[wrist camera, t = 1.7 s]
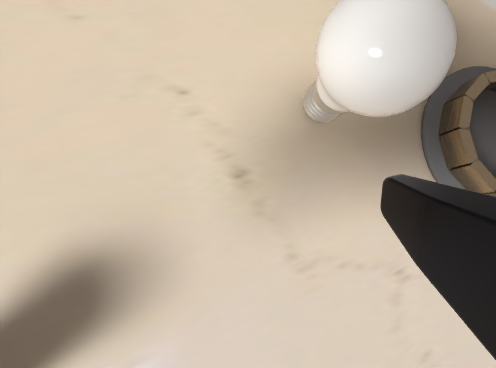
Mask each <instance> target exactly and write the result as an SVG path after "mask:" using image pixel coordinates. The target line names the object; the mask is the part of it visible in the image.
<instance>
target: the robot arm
mask: <svg viewBox="0 0 496 368" xmlns="http://www.w3.org/2000/svg"><path fill="white" fill-rule="evenodd" d="M381 212H382V214H383V216H384V218H385V219H386V221H387V222H388V224H389V225H390V227H391V228H392V230H393V231H394V233H395V234H396V236H397V237H398V239H399V240H400V242H401V243H402V245H403V246H404V248H405V249H406V251H407V252H408V253H409V255H410V256H411V258H412V259H413V261H414V262H415V263H416V265H417V266H418V267H419V268H420V270H421V271H422V272H423V273H424V275H425V276H426V277H427V278H428V279H429V281H430V282H431V283H432V284H433V285H434V287H435V288H436V289H437V290H438V291H439V293H440V294H441V295H442V296H443V297H444V299H445V300H446V301H447V302H448V303H449V305H450V306H451V307H452V308H453V309H454V311H455V312H456V313H457V314H458V315H459V317H460V318H461V319H462V320H463V321H464V323H465V324H466V325H467V326H468V328H469V329H470V330H471V331H472V332H473V334H474V335H475V336H476V337H477V338H478V340H479V341H480V342H481V343H482V344H483V346H484V347H485V348H486V349H487V350H488V352H489V353H490V354H491V355H492V356H493V358H494V359H495V360H496V197H494V196H490V195H486V194H482V193H478V192H473V191H469V190H465V189H461V188H457V187H453V186H449V185H444V184H440V183H436V182H432V181H428V180H424V179H419V178H415V177H411V176H407V175H403V174H399V175H395V176H391V177H387V178H386V179H385V180H384V181H383V186H382V196H381Z"/></svg>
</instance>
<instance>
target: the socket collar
mask: <svg viewBox="0 0 496 368" xmlns="http://www.w3.org/2000/svg"><path fill="white" fill-rule="evenodd" d="M484 90H492V91H494V92H496V71H490V72H485V73H483V74H481V75H479V76H477V77H475V78H473V79H471V80H470V81H468V82H466V83H464V84H462V85H461V86H460V87H459V88H458V89H457V90H456V91H455V92H454V93H453V95H452V96H451V97H450V98H449V99H448V100H447V101H446V102H445V103H444V104H445V105H443V109H442V114H441V120H440V125H439V131H438V135H439V136H440V137H438V139H439V142H440V146H441V149H442V152H443V156H444V159H445V162H446V166H447V169H449V168H451V169H450V170H449V172H450V173H451V174H452V175H453V176H454V178H455V179H456V180H457V181H458V182H459V183H460V184H461V185H462V187H463V188H464V189H465V190H469V191H473V192H478V193H482V194H486V195H490V196H494V197H496V178H495V177H494V176H493V175H492V174H491V173H490V172H489V171H488V169H487V168H486V167H485V166H484V165H483V164H482V163H481V161H480V160H479V159H478V156H477V153H476V150H475V146H474V143H473V140H472V137H471V133H470V130H469V126H470V120H471V114H472V108H473V101H474V100H475V99H476V98H477V96H478V95H479V94H480V93H481V92H482V91H484Z"/></svg>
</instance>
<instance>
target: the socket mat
mask: <svg viewBox="0 0 496 368" xmlns="http://www.w3.org/2000/svg"><path fill="white" fill-rule="evenodd" d="M490 71H496V69H494V68H489V67H470V68H466V69H462V70H460V71H457V72H455V73H453V74H452V75H450V76H449V77H447V78H445V79H444V80H443V82H442V83H441V84H440V86H439V87H438V88H437V89H436V90H435V92H434V93H433V94H432V95H431V96H430V97H429V99H428V101H427V104H426V106H425V110H424V114H423V119H422V145H423V150H424V154H425V158H426V161H427V164H428V167H429V169H430V171H431V173H432V175H433V177H434V179H435V180H436V182H437V183H440V184H444V185H449V186H453V187H457V188H461V189H464V188H463V187H462V185H461V184H460V183H459V182H458V181H457V180H456V179H455V178H454V176H453V175H452V174H451V173H450V172H449V170H450V169H451V168H449V169H447V166H446V162H445V159H444V156H443V152H442V149H441V146H440V142H439V139H438V137H440V136H439V135H438V131H439V125H440V120H441V114H442V109H443V105H445V104H444V103H445V102H446V101H447V100H448V99H449V98H450V97H451V96H452V95H453V93H454V92H455V91H456V90H457V89H458V88H459V87H460V86H461V85H462V84H464V83H466V82H468V81H470V80H471V79H473V78H475V77H477V76H479V75H481V74H483V73H485V72H490ZM469 130H470V133H471V137H472V140H473V143H474V146H475V150H476V153H477V156H478V159H479V160H480V161H481V163H482V164H483V165H484V166H485V167H486V168H487V169H488V171H489V172H490V173H491V174H492V175H493V176H494V177H495V178H496V92H494V91H492V90H484V91H482V92H481V93H480V94H479V95H478V96H477V98H476V99H475V100H474V101H473V108H472V114H471V120H470V126H469Z"/></svg>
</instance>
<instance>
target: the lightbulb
mask: <svg viewBox="0 0 496 368" xmlns="http://www.w3.org/2000/svg"><path fill="white" fill-rule="evenodd" d="M456 43H457V33H456V26H455V21H454V18H453V15H452V12H451V10H450V8H449V6H448V5H447V3H446V2H445V0H339V1H338V2H337V3H336V4H335V5H334V6H333V8H332V9H331V10H330V12H329V13H328V15H327V16H326V18H325V20H324V22H323V24H322V26H321V29H320V32H319V35H318V39H317V44H316V66H317V71H318V76H317V80H316V81H315V82H314V83H313V84H312V85H311V86H310V87H309V89H308V90H307V91H306V92H305V94H304V97H303V107H304V110H305V112H306V113H307V115H308V116H309V117H310V118H311V119H313V120H314V121H317V122H320V123H326V122H330V121H332V120H334V119H335V118H336V117H338V116H339V115H340V114H342V113H343V112H349V111H351V112H353V113H356V114H359V115H363V116H369V117H386V116H392V115H396V114H400V113H403V112H405V111H408V110H410V109H412V108H414V107H416V106H417V105H419V104H420V103H422V102H423V101H425V100H426V99H427V98H428V97H429V96H431V95H432V94H433V93H434V92H435V90H436V89H437V88H438V87H439V86H440V84H441V83H442V82H443V80H444V79H445V77H446V75H447V74H448V72H449V70H450V67H451V65H452V62H453V59H454V56H455V51H456Z"/></svg>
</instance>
